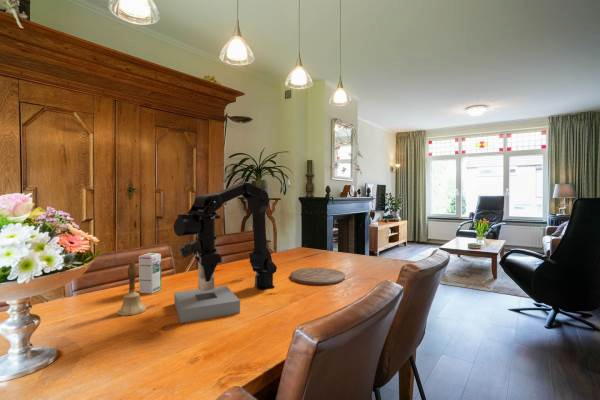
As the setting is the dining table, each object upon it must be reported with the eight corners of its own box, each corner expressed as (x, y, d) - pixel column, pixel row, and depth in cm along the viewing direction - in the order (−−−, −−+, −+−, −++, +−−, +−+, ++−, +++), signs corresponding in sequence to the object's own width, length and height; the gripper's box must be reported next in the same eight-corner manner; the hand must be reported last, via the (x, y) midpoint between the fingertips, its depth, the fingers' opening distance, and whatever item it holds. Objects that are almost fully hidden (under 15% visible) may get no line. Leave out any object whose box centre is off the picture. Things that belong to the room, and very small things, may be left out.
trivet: (353, 276, 148) (353, 272, 148) (329, 289, 127) (329, 285, 127) (308, 269, 161) (308, 265, 161) (279, 280, 140) (279, 276, 140)
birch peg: (211, 286, 108) (211, 259, 107) (214, 289, 104) (214, 262, 104) (198, 287, 106) (198, 261, 105) (200, 291, 102) (200, 263, 102)
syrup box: (152, 293, 119) (152, 255, 119) (138, 292, 120) (138, 255, 120) (161, 289, 125) (161, 253, 124) (148, 288, 126) (148, 252, 126)
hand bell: (126, 306, 106) (126, 259, 106) (150, 306, 106) (150, 259, 106) (111, 315, 98) (110, 264, 98) (137, 316, 98) (137, 265, 97)
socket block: (226, 296, 117) (226, 285, 117) (240, 312, 101) (240, 300, 101) (174, 303, 109) (174, 292, 109) (180, 323, 93) (180, 309, 93)
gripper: (177, 231, 109) (177, 275, 109) (184, 238, 92) (184, 290, 93) (210, 229, 114) (210, 272, 114) (222, 236, 97) (222, 285, 98)
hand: (206, 279), depth 105 cm, fingers closed on birch peg, 4 cm apart
